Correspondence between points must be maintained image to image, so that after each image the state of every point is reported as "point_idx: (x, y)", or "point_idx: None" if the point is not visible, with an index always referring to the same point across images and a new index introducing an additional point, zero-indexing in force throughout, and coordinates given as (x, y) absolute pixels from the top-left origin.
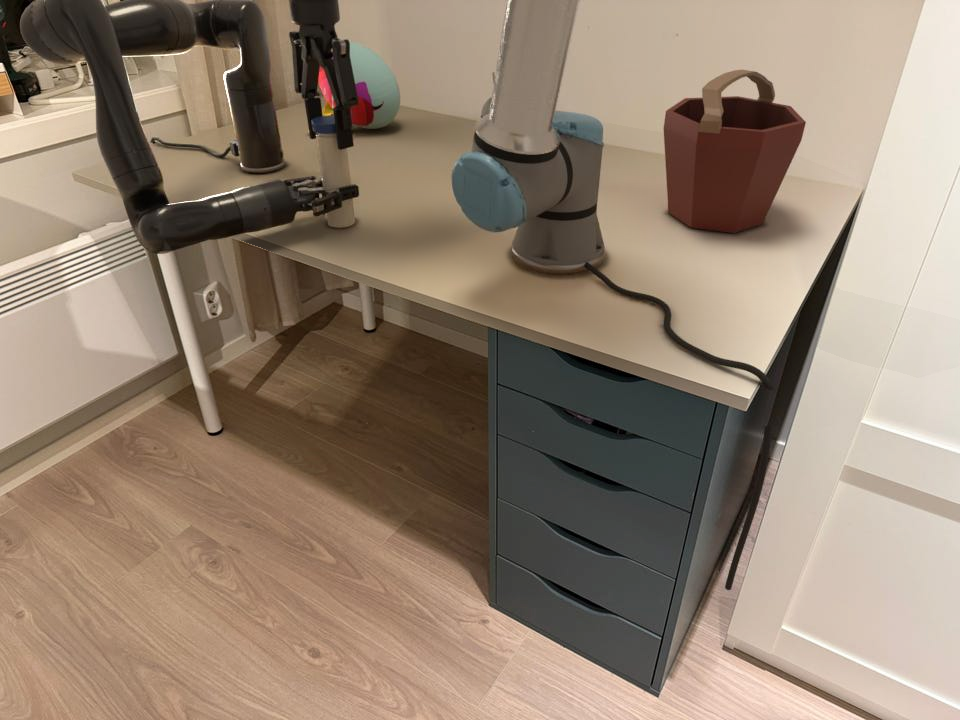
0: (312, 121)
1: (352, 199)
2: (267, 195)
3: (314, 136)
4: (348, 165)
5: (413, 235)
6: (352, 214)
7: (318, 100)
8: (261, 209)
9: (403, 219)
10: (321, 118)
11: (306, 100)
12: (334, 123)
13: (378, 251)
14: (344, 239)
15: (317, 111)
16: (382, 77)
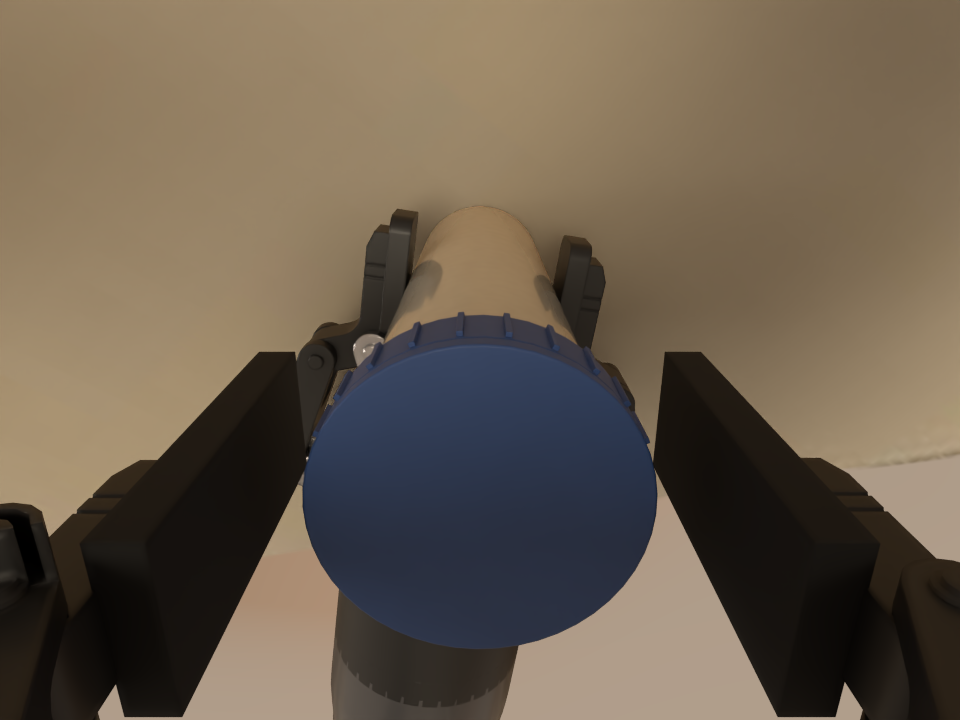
0: (418, 635)
1: (526, 240)
2: (491, 683)
3: (299, 453)
4: (547, 286)
5: (828, 126)
6: (536, 248)
7: (166, 559)
8: (509, 684)
9: (665, 34)
10: (385, 533)
11: (155, 711)
12: (639, 544)
13: (811, 327)
14: (625, 352)
15: (224, 511)
16: None
